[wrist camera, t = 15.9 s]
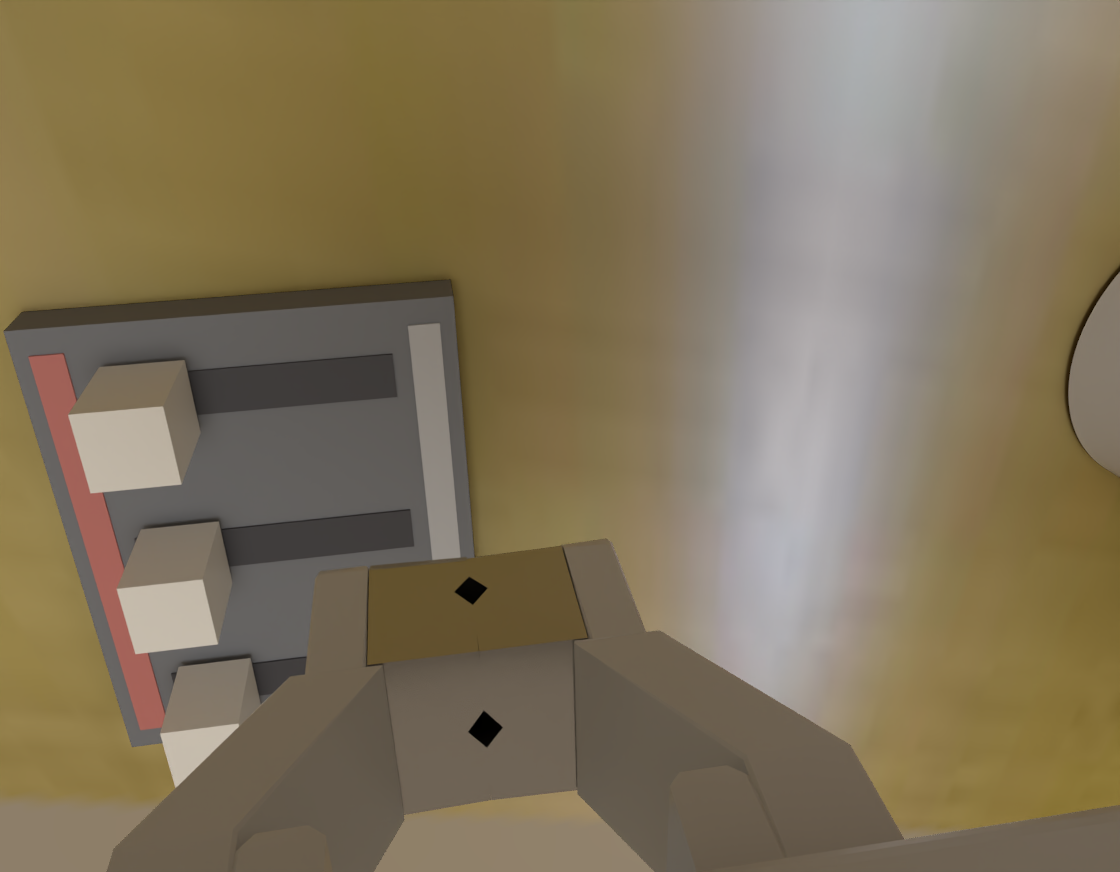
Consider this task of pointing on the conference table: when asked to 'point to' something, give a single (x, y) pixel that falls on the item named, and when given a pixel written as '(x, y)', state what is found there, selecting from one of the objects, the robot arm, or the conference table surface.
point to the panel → (262, 457)
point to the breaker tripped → (176, 587)
